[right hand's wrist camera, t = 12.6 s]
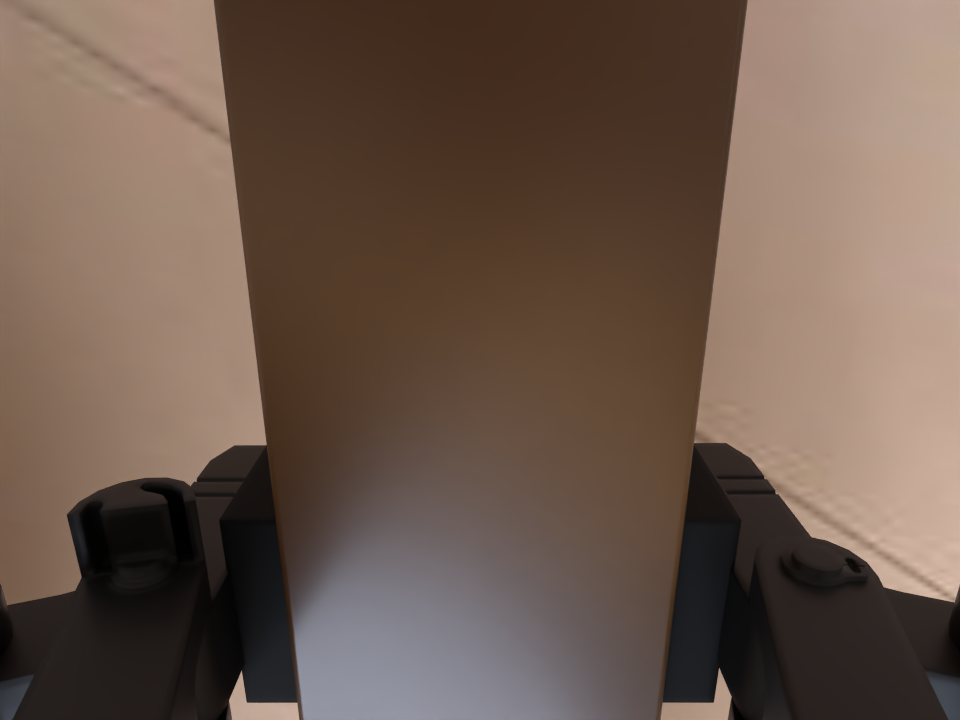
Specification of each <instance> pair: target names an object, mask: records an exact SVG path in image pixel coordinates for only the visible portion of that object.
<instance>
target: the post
mask: <svg viewBox="0 0 960 720" xmlns="http://www.w3.org/2000/svg"><path fill="white" fill-rule="evenodd" d="M747 1H748V0H214V6H215V15H216V23H217V31H218V40H219V48H220V57H221V65H222V73H223V82H224V90H225V98H226V107H227V115H228V124H229V132H230V140H231V149H232V157H233V166H234V174H235V182H236V191H237V199H238V208H239V216H240V224H241V233H242V241H243V249H244V258H245V266H246V275H247V283H248V291H249V300H250V308H251V317H252V325H253V333H254V342H255V350H256V359H257V367H258V375H259V384H260V392H261V400H262V409H263V417H264V426H265V434H266V442H267V451H268V459H269V468H270V476H271V484H272V493H273V501H274V509H275V518H276V526H277V535H278V543H279V551H280V560H281V568H282V577H283V585H284V593H285V602H286V610H287V619H288V627H289V635H290V644H291V652H292V660H293V669H294V677H295V686H296V694H297V702H298V711H299V719H300V720H660V719H661V711H662V703H663V695H664V686H665V678H666V670H667V661H668V653H669V645H670V637H671V628H672V620H673V612H674V604H675V595H676V587H677V579H678V571H679V562H680V554H681V546H682V538H683V529H684V521H685V513H686V505H687V496H688V488H689V480H690V472H691V463H692V455H693V447H694V438H695V430H696V422H697V414H698V405H699V397H700V389H701V381H702V372H703V364H704V356H705V348H706V339H707V331H708V323H709V315H710V306H711V298H712V290H713V282H714V273H715V265H716V257H717V248H718V240H719V232H720V224H721V215H722V207H723V199H724V191H725V182H726V174H727V166H728V158H729V149H730V141H731V133H732V125H733V116H734V108H735V100H736V92H737V83H738V75H739V67H740V59H741V50H742V42H743V34H744V25H745V17H746V9H747Z"/></svg>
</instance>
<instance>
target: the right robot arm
mask: <svg viewBox="0 0 960 720" xmlns="http://www.w3.org/2000/svg"><path fill="white" fill-rule="evenodd" d="M67 518H68V522H69V526H70V530H71V534H72V538H73V542H74V547H75V551H76V555H77V559H78V563H79V567H80V571H81V575H82V578H81V580H80V582H79V584H78V587H77V589H76V591H73V592H69V593H65V594H62V595H57V596H52V597H47V598H42V599H37V600H32V601H27V602H22V603H17V604H12V605H7V604H6V601H5V598H4V594H3V591H2V587H1V585H0V720H232V716H231V710H230V704H229V699H230V696H231V694H232V692H233V689H234V687H235V685H236V682H237V680H238V678H239V675H240V673H241V670H242V674H243V680H244V687H245V693H246V700H247V703H298V702H297V694H296V686H295V677H294V669H293V660H292V652H291V644H290V635H289V627H288V619H287V610H286V602H285V593H284V585H283V577H282V568H281V560H280V551H279V543H278V535H277V526H276V518H275V509H274V501H273V493H272V484H271V476H270V468H269V459H268V451H267V445H266V446H233V447H231V448H230V449H228V450H227V451H225V452H223V453H222V454H220V455H219V456H217V457H216V458H214V459H212V460H211V461H210V462H209V463H208V465H207V466H206V467H205V468H204V470H203V471H202V472H201V474H200V475H199V476H198V478H197V482H194V483H193V484H192V485H191V487H190V486H189V485H188V484H187V483H185V482H184V481H179V480H175V479H171V478H143V479H138V480H132V481H127V482H122V483H119V484H116V485H113V486H110V487H108V488H105V489H102V490H99V491H97V492H95V493H94V494H92V495H90V496H89V497H87V498H85V499H83V500H82V501H80V502H79V503H78V504H77V505H76V506H75V507H74V508H73V509H72V510H71V511H70V512H69V513H68V514H67ZM719 668H720V670H721V673H722V675H723V677H724V680H725V682H726V684H727V687H728V689H729V691H730V694H731V696H732V698H731V704H730V710H729V716H728V720H960V586H959V590H958V593H957V596H956V600H955V603H954V602H949V601H944V600H939V599H934V598H929V597H924V596H919V595H914V594H909V593H904V592H899V591H896V590H892V589H888V588H884V587H883V585H882V583H881V581H880V579H879V577H878V576H877V574H876V573H875V572H874V571H873V569H872V568H871V567H870V566H869V565H868V563H867V562H865V561H864V560H863V559H861V558H860V557H858V556H857V555H855V554H854V553H852V552H851V551H849V550H848V549H845V548H843V547H840V546H838V545H836V544H833V543H831V542H828V541H826V540H821V539H816V538H812V537H811V536H810V535H809V534H808V532H807V531H806V530H805V528H804V527H803V526H802V525H801V523H800V522H799V521H798V519H797V518H796V517H795V515H794V514H793V513H792V512H791V510H790V509H789V508H788V506H787V505H786V504H785V502H784V501H783V500H782V499H781V497H780V496H779V495H778V494H775V490H774V488H773V487H772V486H771V484H770V483H769V482H768V480H767V479H764V475H763V474H762V473H761V471H760V470H759V469H758V467H757V466H756V465H755V464H754V462H753V461H752V460H751V458H749V457H748V456H746V455H744V454H743V453H741V452H740V451H738V450H736V449H735V448H733V447H731V446H730V445H728V444H727V443H694V447H693V455H692V463H691V472H690V480H689V488H688V496H687V505H686V513H685V521H684V529H683V538H682V546H681V554H680V562H679V571H678V579H677V587H676V595H675V604H674V612H673V620H672V628H671V637H670V645H669V653H668V661H667V670H666V678H665V686H664V695H663V702H714V697H715V690H716V684H717V677H718V671H719Z"/></svg>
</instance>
